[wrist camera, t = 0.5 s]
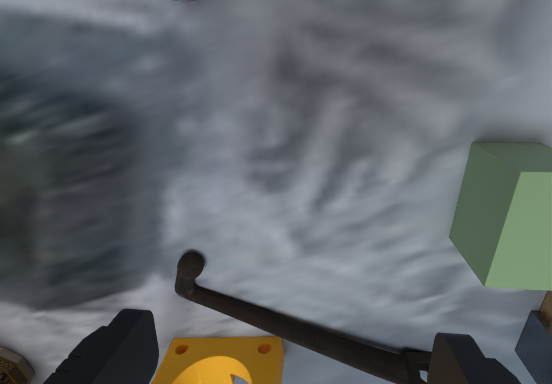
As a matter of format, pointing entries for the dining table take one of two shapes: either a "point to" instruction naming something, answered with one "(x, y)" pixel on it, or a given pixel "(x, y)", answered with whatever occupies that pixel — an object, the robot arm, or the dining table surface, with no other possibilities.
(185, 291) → the wrench
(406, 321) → the dining table surface
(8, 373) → the ceramic cup
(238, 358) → the pipe clamp
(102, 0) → the dining table surface
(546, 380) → the grey block with frame
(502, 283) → the sage green upright block
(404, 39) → the dining table surface
